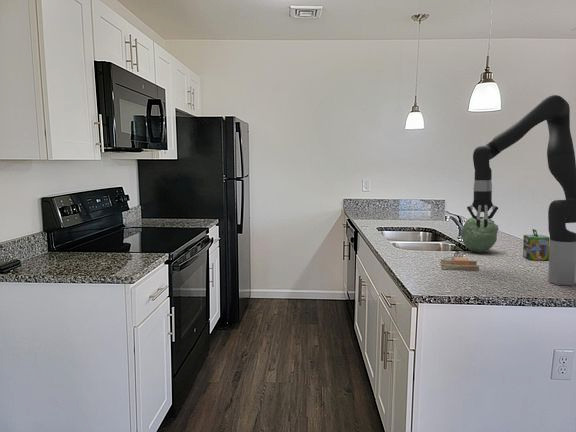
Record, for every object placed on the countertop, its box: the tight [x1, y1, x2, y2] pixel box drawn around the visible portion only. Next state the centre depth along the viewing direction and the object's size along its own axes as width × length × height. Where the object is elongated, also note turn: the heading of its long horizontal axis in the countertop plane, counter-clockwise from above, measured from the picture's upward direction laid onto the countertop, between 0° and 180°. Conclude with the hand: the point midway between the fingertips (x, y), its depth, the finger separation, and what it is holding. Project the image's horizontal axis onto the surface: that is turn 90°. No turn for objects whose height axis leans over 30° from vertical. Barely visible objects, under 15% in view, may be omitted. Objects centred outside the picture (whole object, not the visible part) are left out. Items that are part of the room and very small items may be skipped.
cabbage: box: [460, 216, 499, 254], centre depth 224 cm, size 16×19×20 cm
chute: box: [440, 258, 480, 272], centre depth 195 cm, size 12×16×2 cm
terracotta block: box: [453, 257, 470, 265], centre depth 195 cm, size 6×6×4 cm
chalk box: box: [522, 228, 550, 261], centre depth 206 cm, size 9×9×15 cm
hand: (481, 227), depth 190 cm, fingers closed
